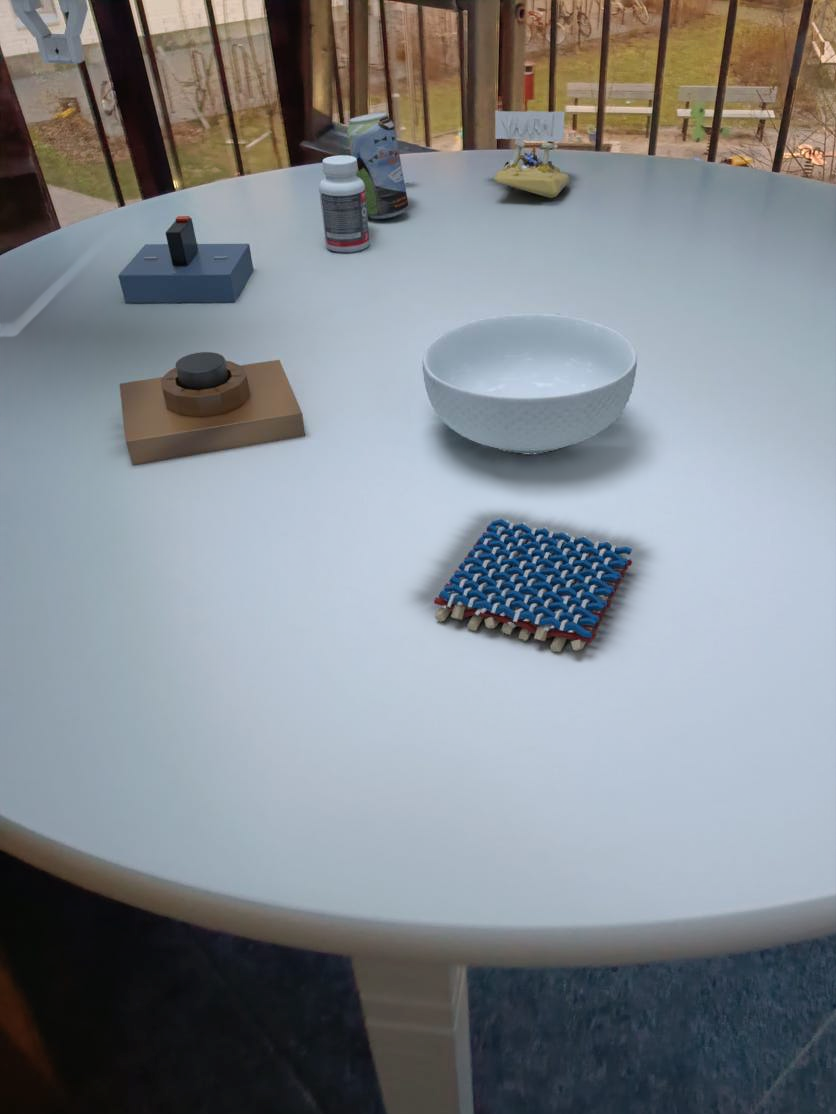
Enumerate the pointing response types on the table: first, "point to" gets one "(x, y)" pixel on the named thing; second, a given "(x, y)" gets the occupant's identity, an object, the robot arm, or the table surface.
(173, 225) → the knob
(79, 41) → the robot arm
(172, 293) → the panel
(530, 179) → the miniature sign display
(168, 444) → the button box
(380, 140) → the beverage can
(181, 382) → the button
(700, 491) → the table surface
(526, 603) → the woven mat
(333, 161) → the pill bottle
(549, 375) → the cereal bowl
